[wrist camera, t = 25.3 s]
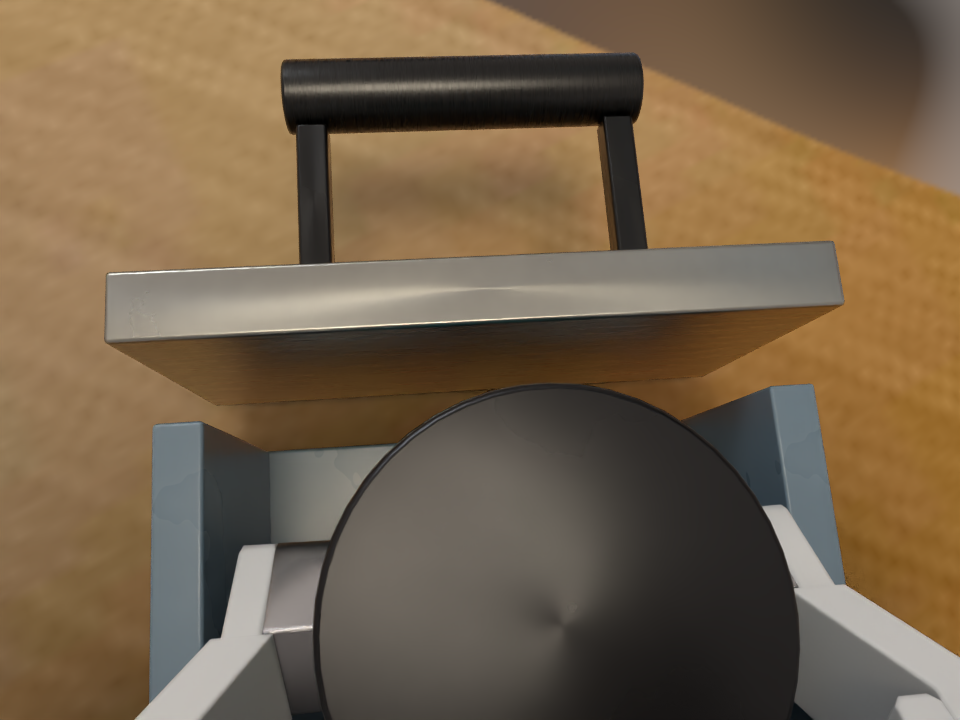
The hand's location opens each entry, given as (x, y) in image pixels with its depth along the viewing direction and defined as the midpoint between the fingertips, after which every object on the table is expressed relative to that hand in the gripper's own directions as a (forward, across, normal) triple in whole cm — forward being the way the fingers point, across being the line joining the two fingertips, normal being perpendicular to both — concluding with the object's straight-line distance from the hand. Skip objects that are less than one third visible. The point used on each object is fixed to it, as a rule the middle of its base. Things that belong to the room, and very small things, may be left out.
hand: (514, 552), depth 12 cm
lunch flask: (+3, 0, +4) cm, 5 cm away
